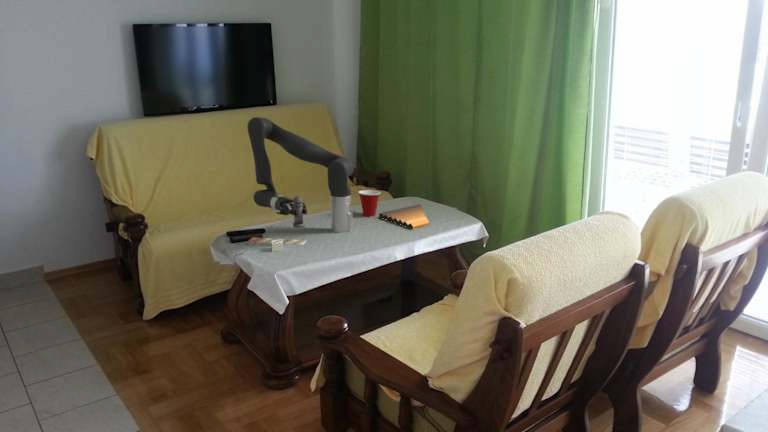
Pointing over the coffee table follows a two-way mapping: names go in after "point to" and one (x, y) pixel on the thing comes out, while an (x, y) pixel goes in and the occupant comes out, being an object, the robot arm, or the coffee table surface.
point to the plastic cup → (369, 201)
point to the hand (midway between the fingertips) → (301, 212)
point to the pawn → (298, 207)
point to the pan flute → (407, 216)
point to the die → (277, 245)
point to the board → (269, 240)
